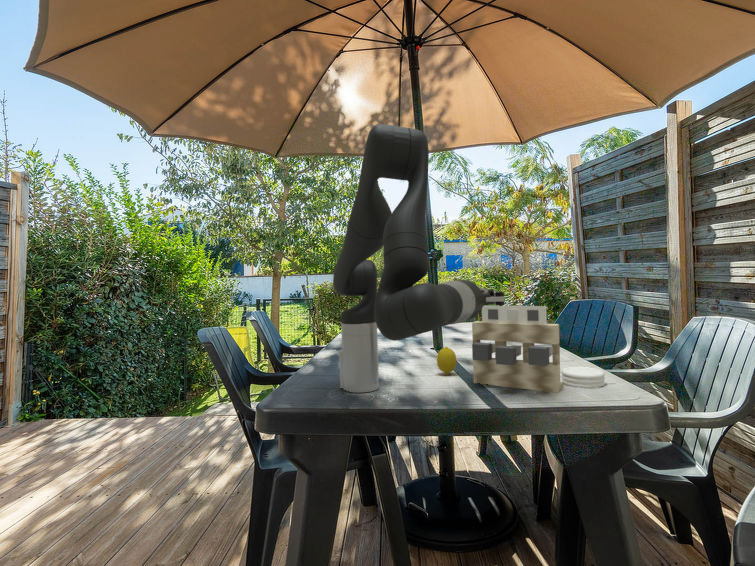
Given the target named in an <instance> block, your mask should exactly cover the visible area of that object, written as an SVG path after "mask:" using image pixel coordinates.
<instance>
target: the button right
mask: <svg viewBox="0 0 755 566" xmlns="http://www.w3.org/2000/svg"><path fill="white" fill-rule="evenodd" d="M551 356H552V345H546V344H542V345H541V346H539V345H538V346H537V345H534V346H531V347H529V348H528V357H529V365H538V366H547V365H548V364H549V362H550V357H551Z"/></svg>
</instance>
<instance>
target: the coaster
mask: <svg viewBox="0 0 755 566" xmlns="http://www.w3.org/2000/svg"><path fill="white" fill-rule="evenodd" d="M605 374H606V373H605V372H604V371H603V370H601V369H599V368H595V367H587V366H569V367H564V368H562V369H561V382H563V383H564V384H563V385H565V386H567V387H572V388H577V387H580V388H579V389H595V388H594V387H600V388H602V387H601V386H603V387H604V386H605V384H606V383H605V379H606V378H605Z"/></svg>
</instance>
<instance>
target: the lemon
mask: <svg viewBox="0 0 755 566" xmlns="http://www.w3.org/2000/svg"><path fill="white" fill-rule="evenodd" d="M456 356H457V355H456V353H455V352H454V350H452V349H451V348H450V347H448V346H444V347H443V348H441V349H440V350H439V351H438V353H437V355H436V364H437V367H438V369H439V370H440V372H443V373H444V374H445V375H449V374H450V373H451V372H453V371H454V370H455V368H456V366H457V357H456Z"/></svg>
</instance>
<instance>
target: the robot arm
mask: <svg viewBox="0 0 755 566" xmlns="http://www.w3.org/2000/svg"><path fill="white" fill-rule="evenodd" d="M365 141H366V142H365V146H364V151H363V157H362V162H361V169H360V175H359V180H358V184H357V185H358V186H357V191H356V195H355V198H354V201H353V205H352V207H351V211H350V214H349V217H348V218H349V219H348V222H347V227H346V231H345V232H346V233H345V236H344V241H343V245H342V248H341V251H340V252H339V253H340V254H339V256H338V259H337V262H336V264H335V266H334V267H335V268H334V270H333V278H332V281H333V282H332V283H333V284H332V285H333V287H334V290H335V293H336V294H337V295H339V296H344V297H361V300H360V301H359V302H358V303H357V304H355V305H354V306H352V307H350V308H348V309H345V310H343V311H342V312H341V313H340V323H341V325H340V327H341V351H339V353H338V358H339V359H338V361H339V362H338V363H339V386H340V387H339V388H343V389H342V390H343V391H345V390H346V391H345V392H348V391H349V392H348V393H356V394H357V393H360V394H361V393H370V392H373V391H377V390H379V388H380V380H379V379H380V377H379V374H380V373H379V348H378V347H379V345H378V330H379V332H380V334H382V336H383V337H384V338H386V340H387V339H388V340H389V341H393V342H396V341H402V340H405V339H407V338H409V339H410V338H412V337H415V336H418V335H421V334H426V333H428V332H432V331H436V330H437V329H438V330H439V328H442V327H446V326H449V325H456V324H460V323H463V322H465V321H469V320H472V319H474V318H476V317H477V316H478V315H479V313H481V312H482V308H483V306H485V305H486V306H490V304H493V306H505V292H504V291H500V290H497V289H496V290H495V289H492V288H491V289H489V288H481V287H479V286H478V284H476V283H475V282H473V281H471V280H467V279H457V280H451V281H450V280H449V281H445V282H441V283H440V284H434V283H433V282H425V283H418V282H419V281H421V280H422V279H423V278H424V277H426V275H427V274H428V272H429V264H430V263H429V253H428V245H427V234H426V233H427V231H426V214H427V213H426V211H427V210H426V209H427V201H428V200H427V197H428V181H429V179H428V178H429V156H430V155H429V154H430V153H429V152H430V151H429V142H428V137H427V135H426V134H425V132H423V130H419V129H417V128H412V127H404V126H399V125H392V124H384V123H380V124H374V125H373V126H372V127H371V129H370V130H369V132H368V135H367V137H366V140H365ZM381 178H382V179H383V178H384V179H390V180H397V181H407V183H408V185H407V190H406V192H405V193H404V196H403V197H402V198H401V200H400V202H399V203H398V204H397V206H396V207H395V208H394V210H391V207H390V205H389V203H388V201H387V200H386V198H385V196H384V194H383V193H382V190H381V188H380V184H379V179H381ZM381 249H383V253H382V254H383V269H382V273H381V277H380V281H379V284H378V272H377V271H378V270H377V266H376V264H375V262H374V261H373V260H370V259H369V258H371V257H372V256H374V255H375V254H376V253H378V252H379V251H380V250H381ZM416 283H418V284H416ZM415 284H416V285H415Z"/></svg>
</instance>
